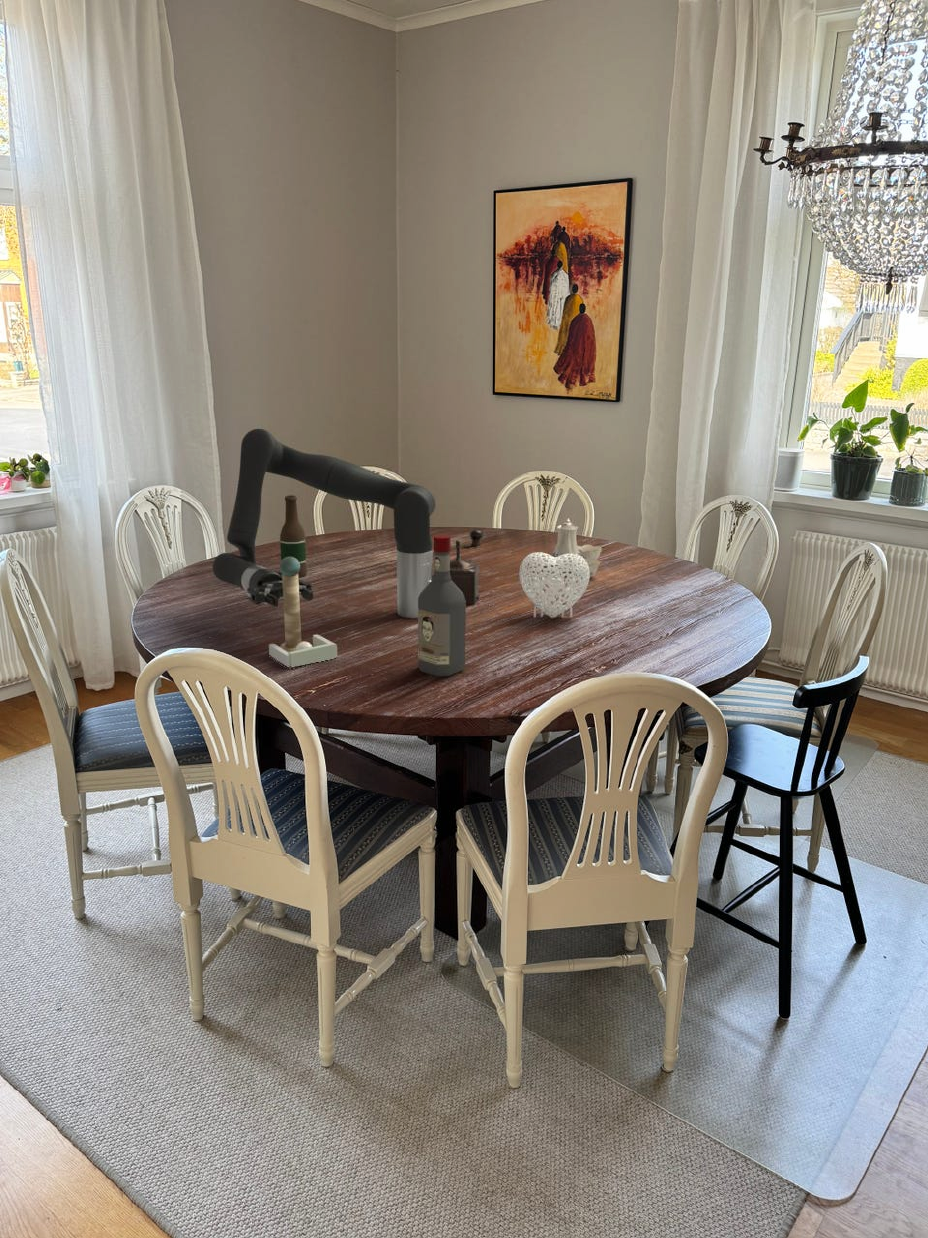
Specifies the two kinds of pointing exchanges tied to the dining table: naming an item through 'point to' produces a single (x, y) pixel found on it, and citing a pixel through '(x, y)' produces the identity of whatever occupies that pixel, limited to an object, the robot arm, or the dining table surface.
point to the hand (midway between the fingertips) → (294, 599)
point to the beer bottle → (293, 536)
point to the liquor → (441, 618)
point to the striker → (291, 603)
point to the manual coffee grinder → (466, 570)
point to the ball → (303, 646)
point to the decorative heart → (554, 581)
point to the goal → (305, 653)
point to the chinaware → (575, 547)
